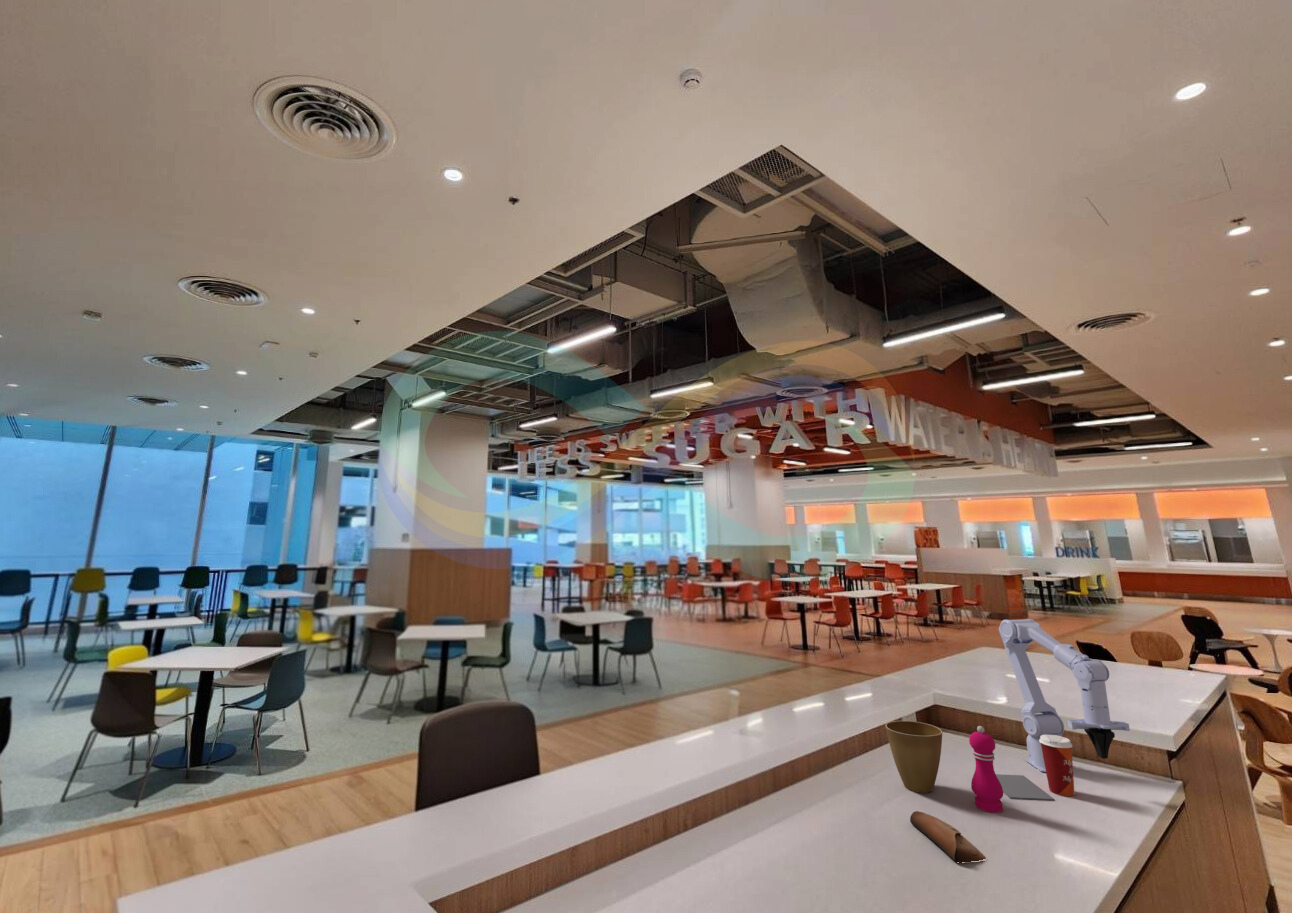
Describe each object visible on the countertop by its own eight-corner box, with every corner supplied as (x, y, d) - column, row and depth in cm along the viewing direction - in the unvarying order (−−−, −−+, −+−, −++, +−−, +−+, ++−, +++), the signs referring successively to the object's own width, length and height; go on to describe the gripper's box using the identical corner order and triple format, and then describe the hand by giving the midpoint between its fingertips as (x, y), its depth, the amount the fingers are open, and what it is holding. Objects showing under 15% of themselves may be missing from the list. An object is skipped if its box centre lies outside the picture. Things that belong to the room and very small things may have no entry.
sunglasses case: (992, 861, 120) (974, 833, 121) (968, 881, 119) (950, 853, 120) (942, 822, 138) (926, 797, 139) (920, 839, 137) (905, 814, 138)
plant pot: (958, 798, 151) (952, 735, 153) (903, 798, 151) (898, 736, 154) (932, 776, 165) (926, 719, 168) (881, 776, 166) (877, 719, 168)
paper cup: (1079, 800, 149) (1072, 744, 151) (1044, 793, 153) (1037, 739, 156) (1079, 790, 155) (1072, 736, 157) (1045, 784, 159) (1039, 731, 162)
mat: (983, 775, 166) (983, 773, 166) (1023, 776, 164) (1023, 775, 164) (1010, 798, 150) (1010, 797, 150) (1054, 800, 149) (1054, 799, 149)
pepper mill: (1010, 814, 141) (1000, 731, 145) (979, 812, 143) (970, 729, 146) (998, 802, 148) (989, 722, 152) (969, 800, 150) (961, 721, 153)
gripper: (1076, 708, 153) (1083, 761, 151) (1134, 710, 151) (1142, 763, 149) (1060, 701, 160) (1067, 752, 158) (1116, 703, 158) (1123, 754, 156)
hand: (1102, 757), depth 154 cm, fingers closed
